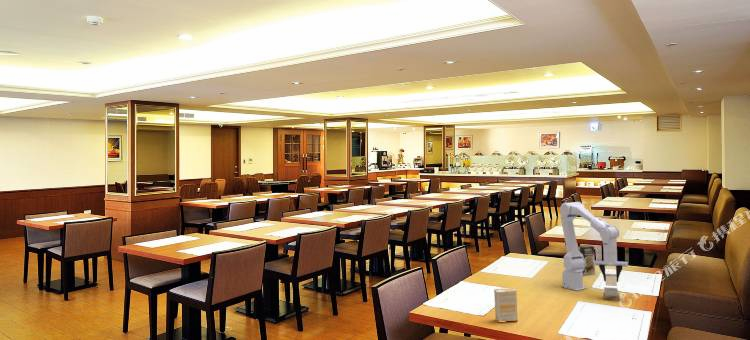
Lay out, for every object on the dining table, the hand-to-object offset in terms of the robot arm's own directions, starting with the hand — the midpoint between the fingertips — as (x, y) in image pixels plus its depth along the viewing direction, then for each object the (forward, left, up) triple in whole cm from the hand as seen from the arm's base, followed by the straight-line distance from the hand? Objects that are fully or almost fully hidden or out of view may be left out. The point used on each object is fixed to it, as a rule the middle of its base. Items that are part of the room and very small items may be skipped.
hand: (611, 281), depth 230 cm
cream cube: (0, 0, -2) cm, 2 cm away
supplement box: (-9, -61, -8) cm, 62 cm away
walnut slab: (0, 0, -9) cm, 9 cm away
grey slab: (0, 0, -6) cm, 6 cm away
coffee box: (-37, +34, -8) cm, 51 cm away
